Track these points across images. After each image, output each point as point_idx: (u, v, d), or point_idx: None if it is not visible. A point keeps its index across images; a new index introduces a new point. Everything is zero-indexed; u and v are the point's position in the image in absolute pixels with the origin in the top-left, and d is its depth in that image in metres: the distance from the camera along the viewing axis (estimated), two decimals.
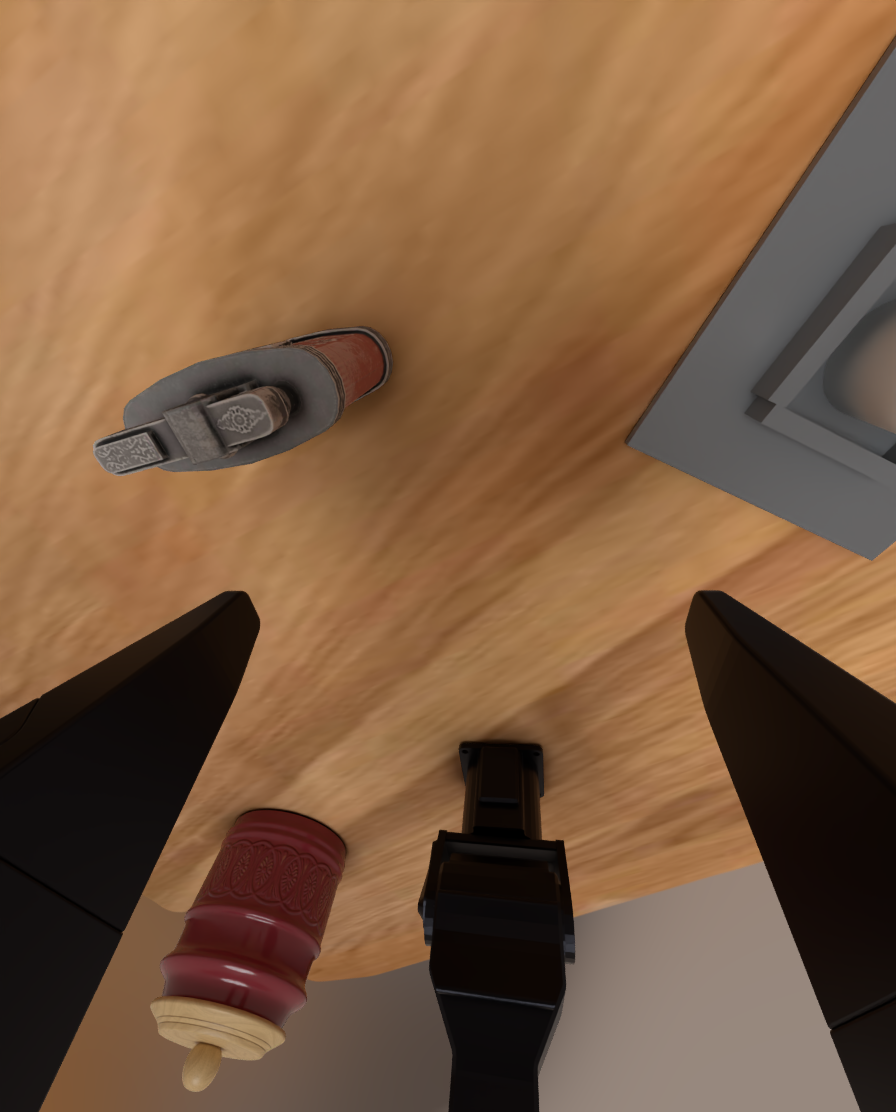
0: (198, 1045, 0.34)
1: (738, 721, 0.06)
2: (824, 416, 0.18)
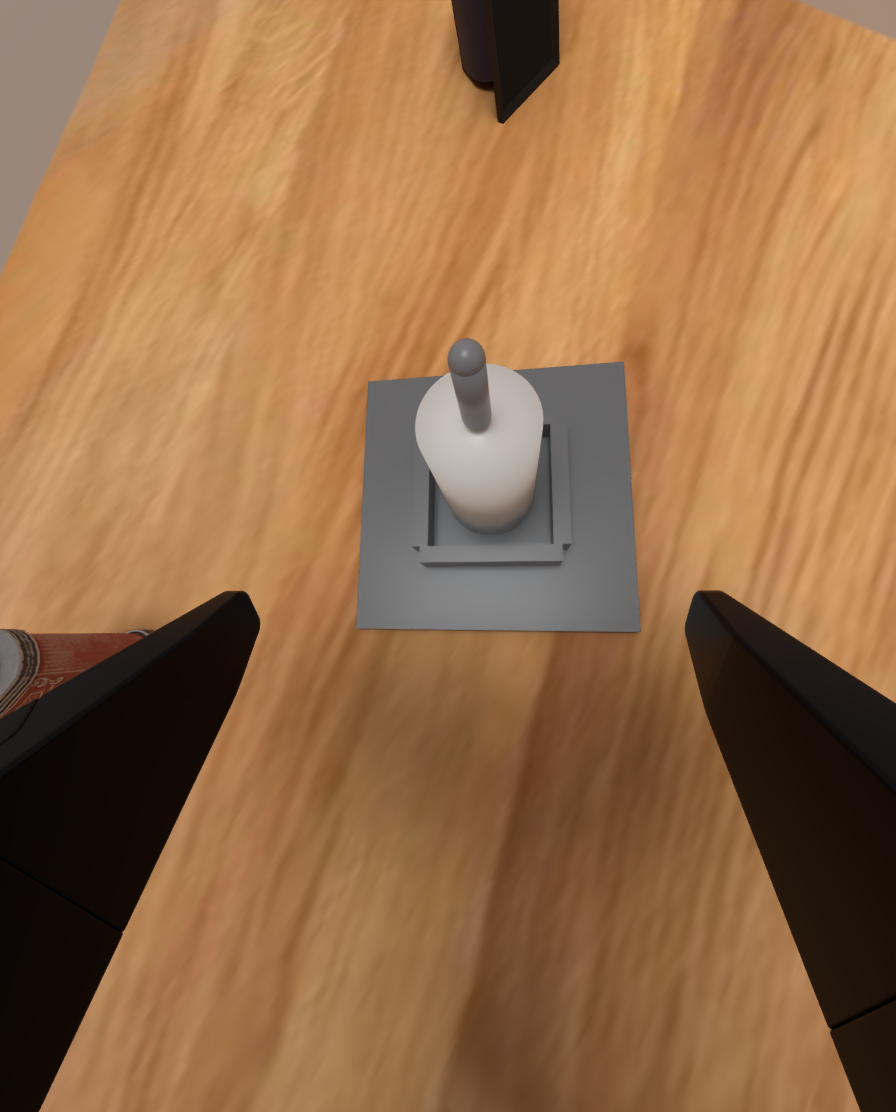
0: None
1: (738, 721, 0.06)
2: (482, 543, 0.22)
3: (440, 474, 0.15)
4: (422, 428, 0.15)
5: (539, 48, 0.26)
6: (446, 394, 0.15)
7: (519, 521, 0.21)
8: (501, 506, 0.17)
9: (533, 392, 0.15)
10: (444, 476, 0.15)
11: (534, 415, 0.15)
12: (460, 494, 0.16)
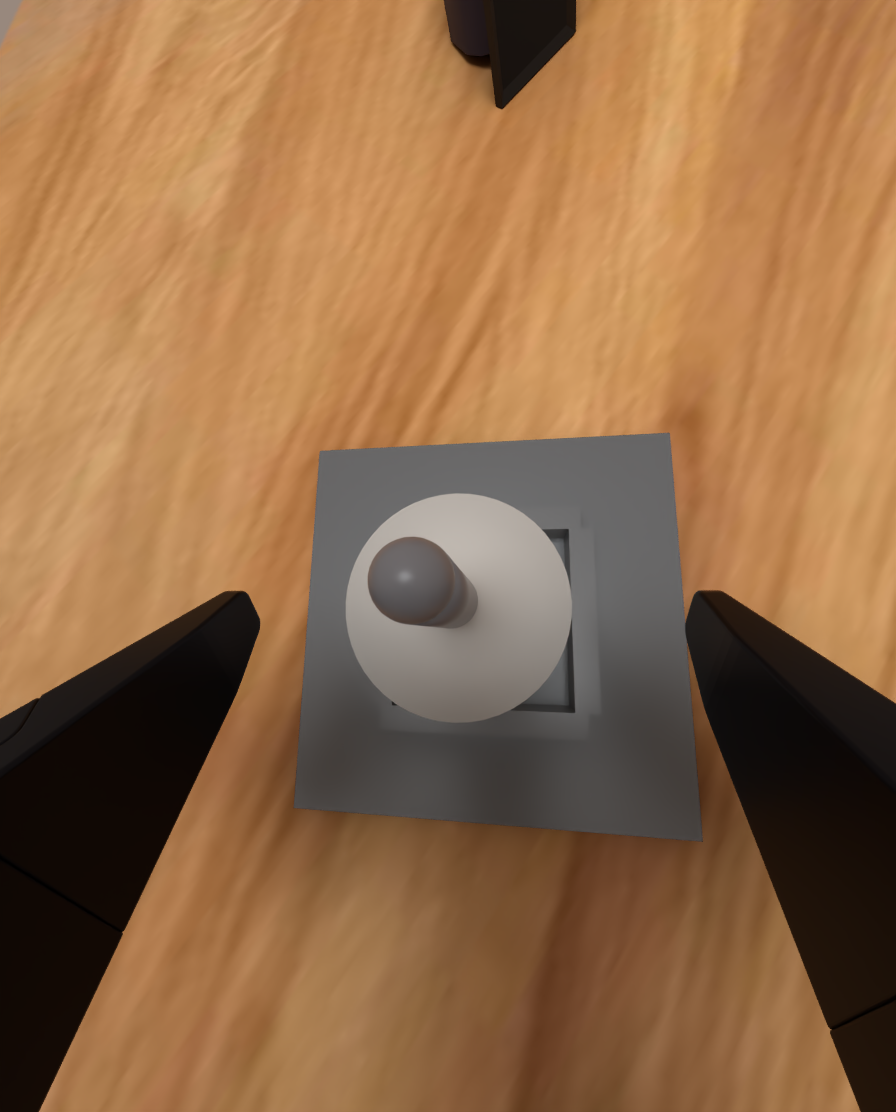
0: None
1: (738, 721, 0.06)
2: None
3: (387, 695, 0.08)
4: (358, 607, 0.09)
5: (550, 9, 0.20)
6: None
7: None
8: None
9: (553, 552, 0.08)
10: (394, 701, 0.08)
11: (555, 596, 0.08)
12: None
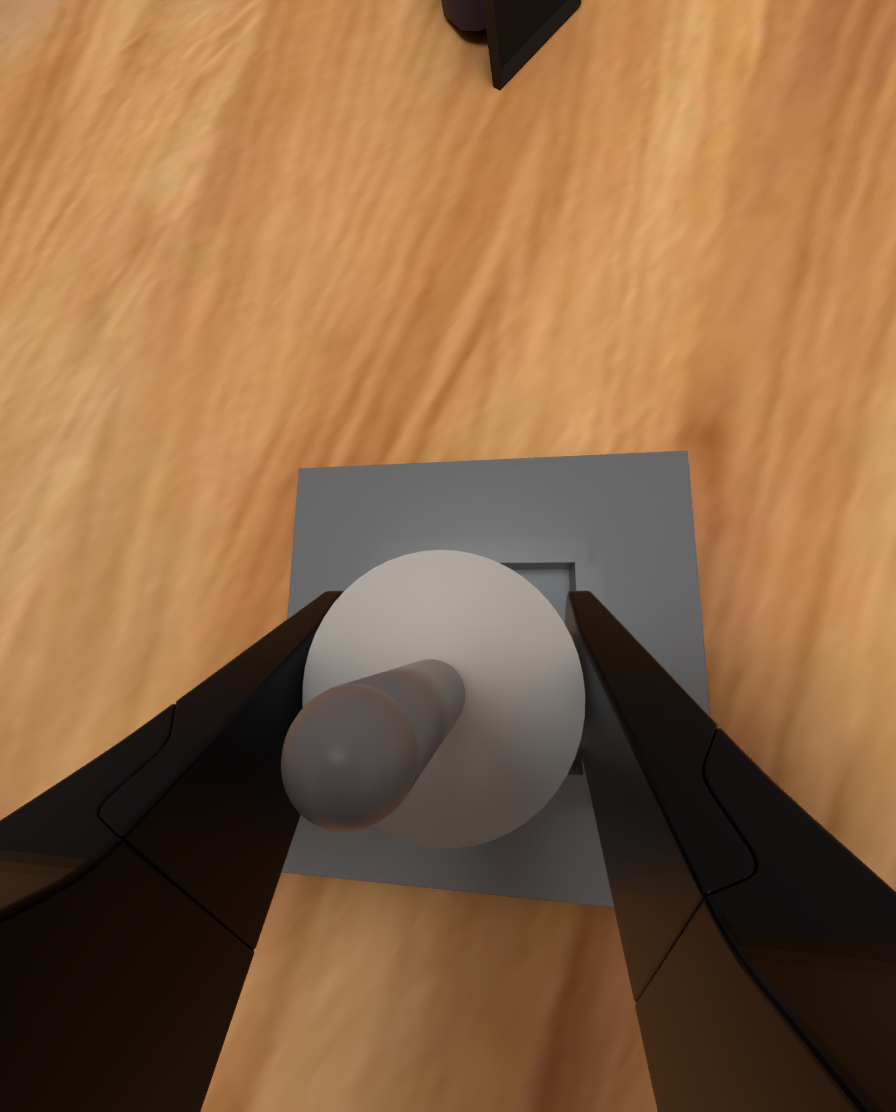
0: None
1: None
2: None
3: None
4: (317, 693, 0.07)
5: None
6: (371, 616, 0.07)
7: None
8: None
9: (561, 628, 0.07)
10: None
11: (563, 686, 0.06)
12: None
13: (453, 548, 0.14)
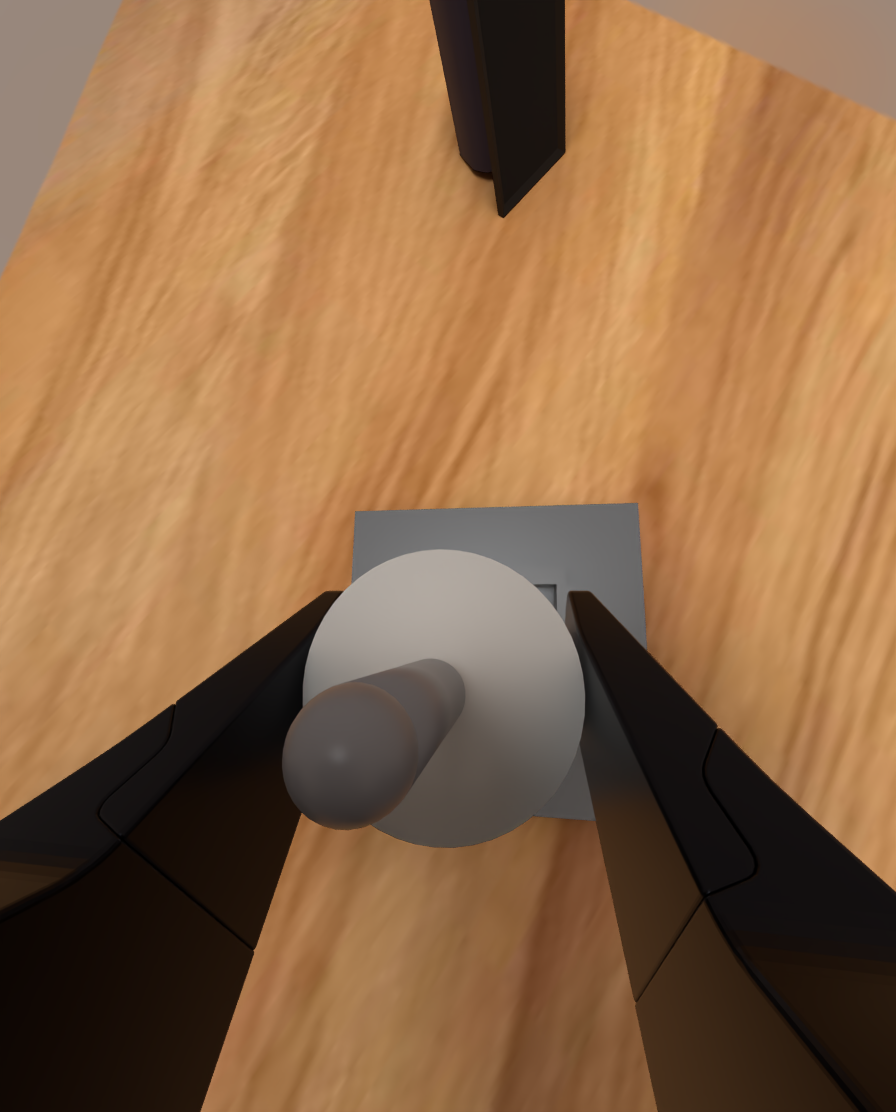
0: None
1: None
2: None
3: None
4: (318, 692, 0.07)
5: (544, 140, 0.24)
6: (371, 616, 0.07)
7: None
8: None
9: (561, 627, 0.07)
10: None
11: (563, 685, 0.06)
12: None
13: None
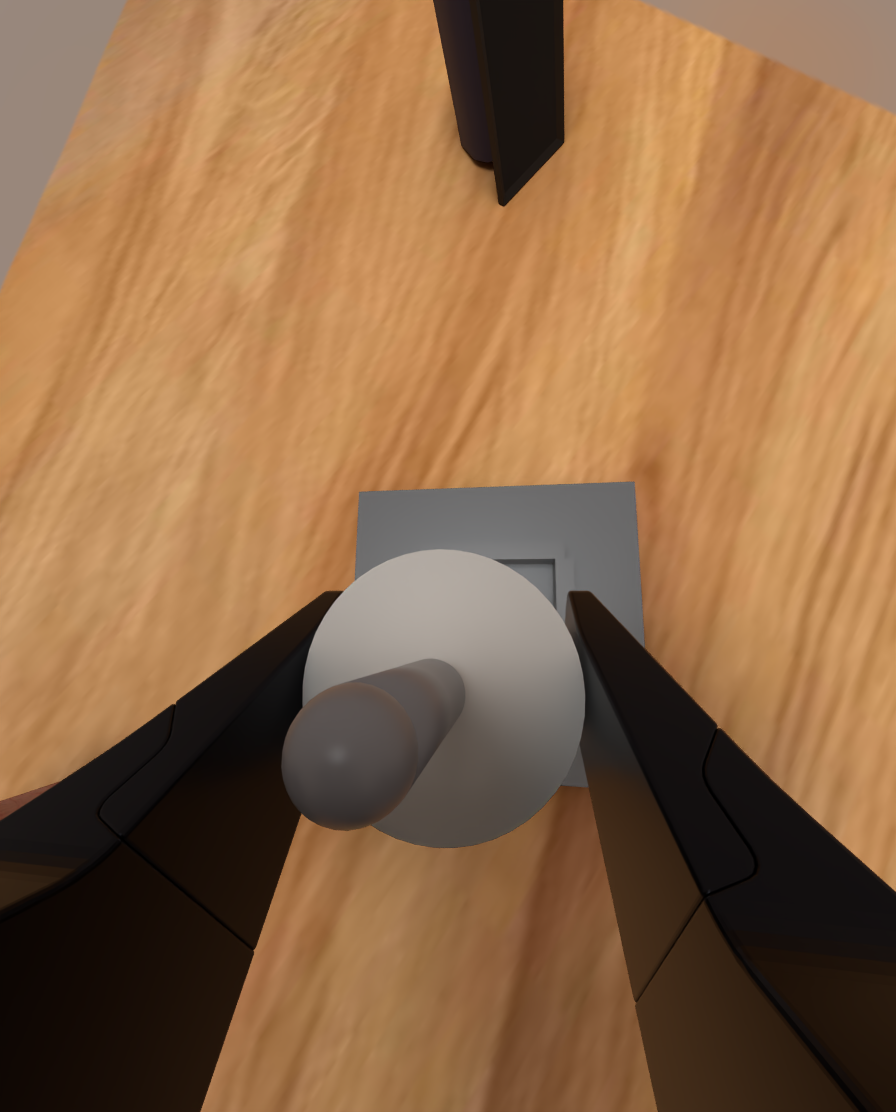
0: None
1: None
2: None
3: None
4: (317, 692, 0.07)
5: (543, 130, 0.24)
6: (371, 616, 0.07)
7: None
8: None
9: (561, 627, 0.07)
10: None
11: (563, 685, 0.06)
12: None
13: (473, 549, 0.20)
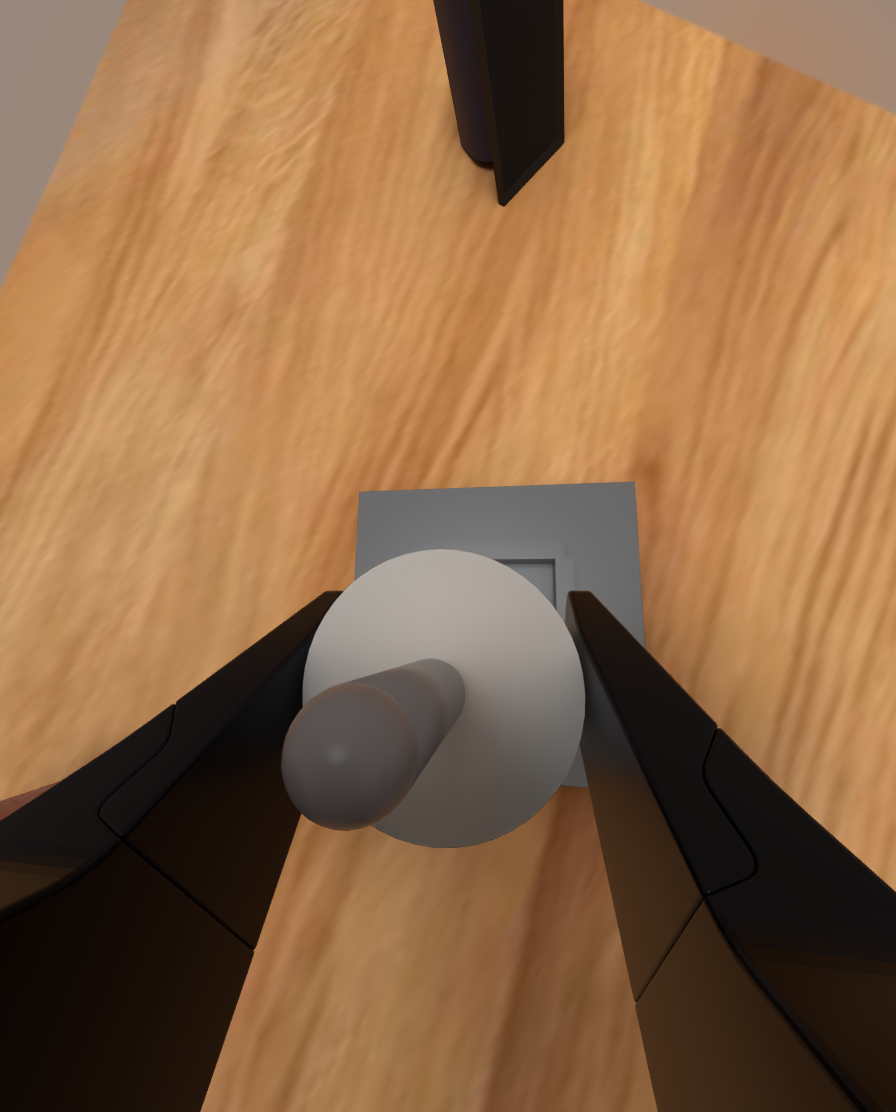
0: None
1: None
2: None
3: None
4: (317, 692, 0.07)
5: (543, 130, 0.24)
6: (371, 616, 0.07)
7: None
8: None
9: (561, 627, 0.07)
10: None
11: (563, 684, 0.06)
12: None
13: (473, 549, 0.20)
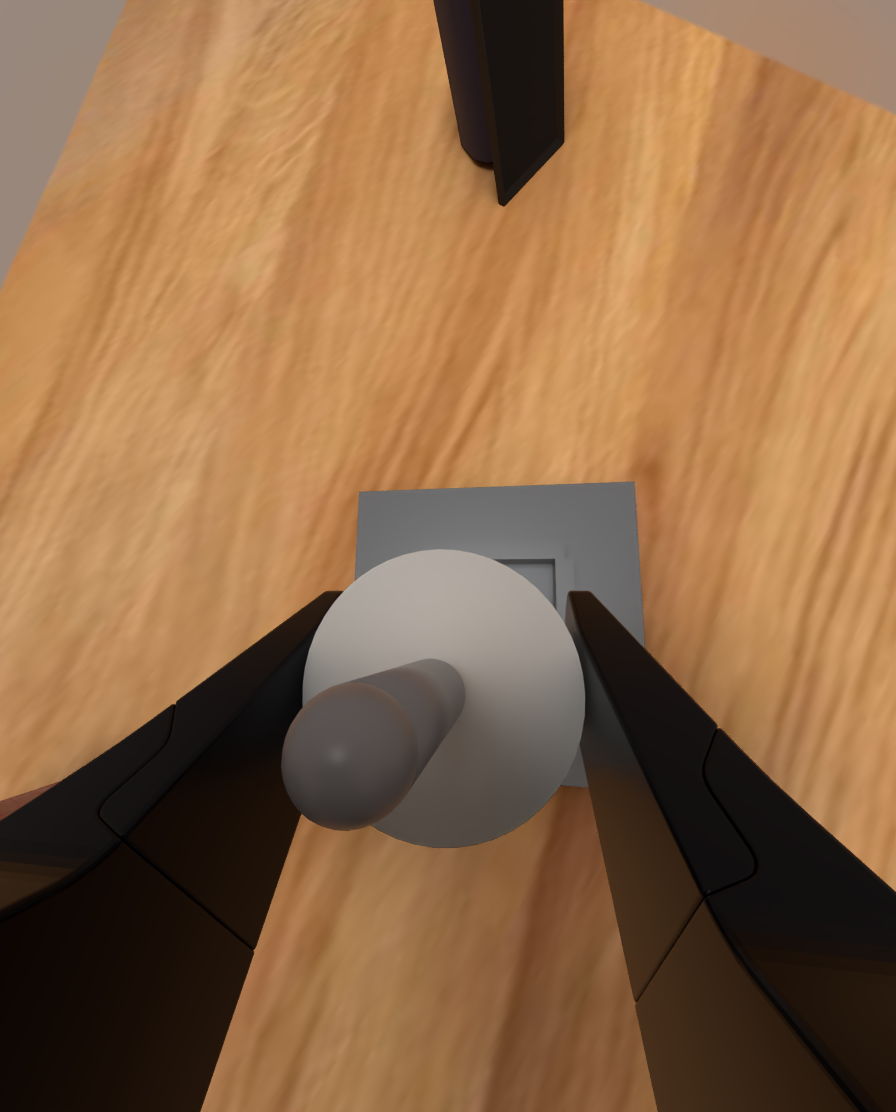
0: None
1: None
2: None
3: None
4: (317, 692, 0.07)
5: (543, 130, 0.24)
6: (371, 616, 0.07)
7: None
8: None
9: (561, 627, 0.07)
10: None
11: (563, 684, 0.06)
12: None
13: (473, 549, 0.20)
